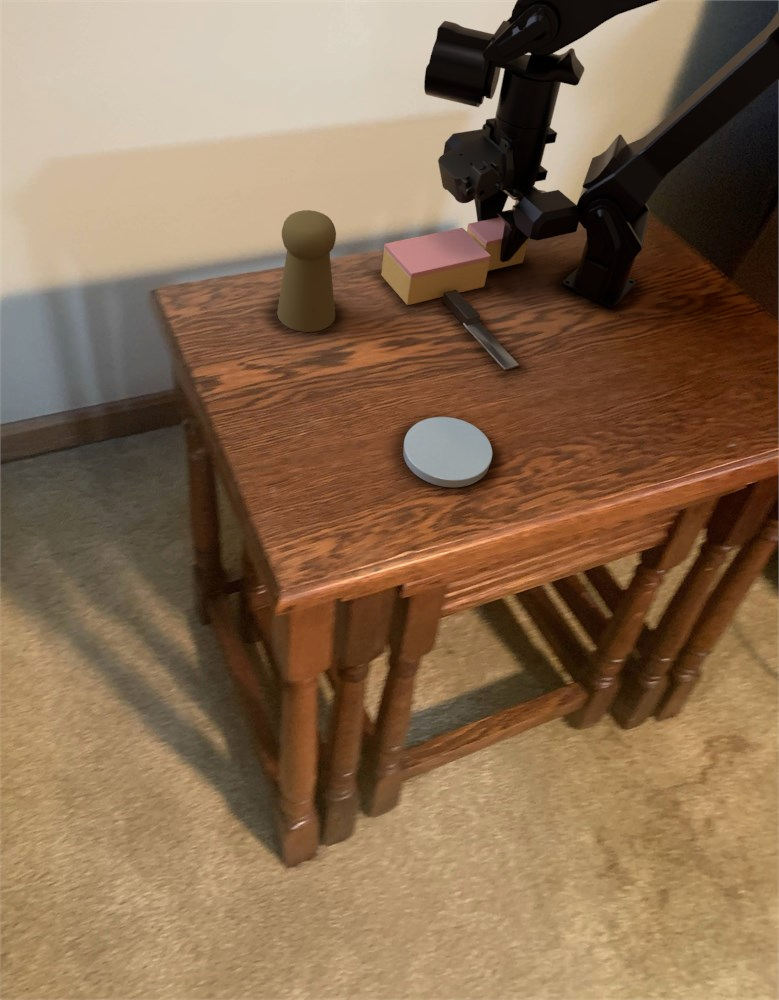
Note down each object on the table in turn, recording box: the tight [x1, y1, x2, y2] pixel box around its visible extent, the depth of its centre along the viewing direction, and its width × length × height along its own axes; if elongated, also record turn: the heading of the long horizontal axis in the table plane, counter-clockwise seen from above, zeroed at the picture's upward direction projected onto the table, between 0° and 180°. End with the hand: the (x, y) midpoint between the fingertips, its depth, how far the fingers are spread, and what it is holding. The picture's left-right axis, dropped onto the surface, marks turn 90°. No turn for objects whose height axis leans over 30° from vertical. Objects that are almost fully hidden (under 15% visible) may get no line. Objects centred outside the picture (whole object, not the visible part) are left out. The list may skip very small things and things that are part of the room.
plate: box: [402, 416, 493, 488], centre depth 75 cm, size 8×8×1 cm
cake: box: [381, 227, 491, 306], centre depth 92 cm, size 6×10×4 cm, turn 118°
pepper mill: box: [276, 209, 337, 333], centre depth 83 cm, size 6×6×11 cm
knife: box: [442, 290, 520, 372], centre depth 88 cm, size 2×12×1 cm, turn 28°
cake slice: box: [466, 217, 530, 272], centre depth 96 cm, size 4×6×4 cm, turn 118°
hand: (494, 250), depth 97 cm, fingers closed on cake slice, 4 cm apart
